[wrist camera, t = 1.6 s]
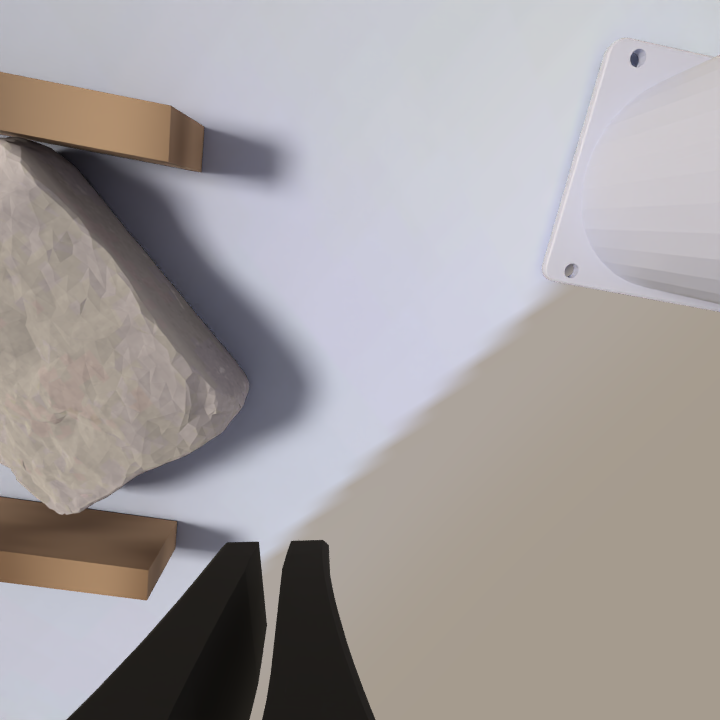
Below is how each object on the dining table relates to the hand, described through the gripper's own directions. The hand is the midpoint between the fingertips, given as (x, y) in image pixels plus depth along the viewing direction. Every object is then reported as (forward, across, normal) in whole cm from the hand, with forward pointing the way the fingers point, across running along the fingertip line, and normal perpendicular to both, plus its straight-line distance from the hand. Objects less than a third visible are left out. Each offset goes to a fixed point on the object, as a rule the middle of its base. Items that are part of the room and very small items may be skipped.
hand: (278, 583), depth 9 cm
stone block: (+11, +10, -2) cm, 15 cm away
